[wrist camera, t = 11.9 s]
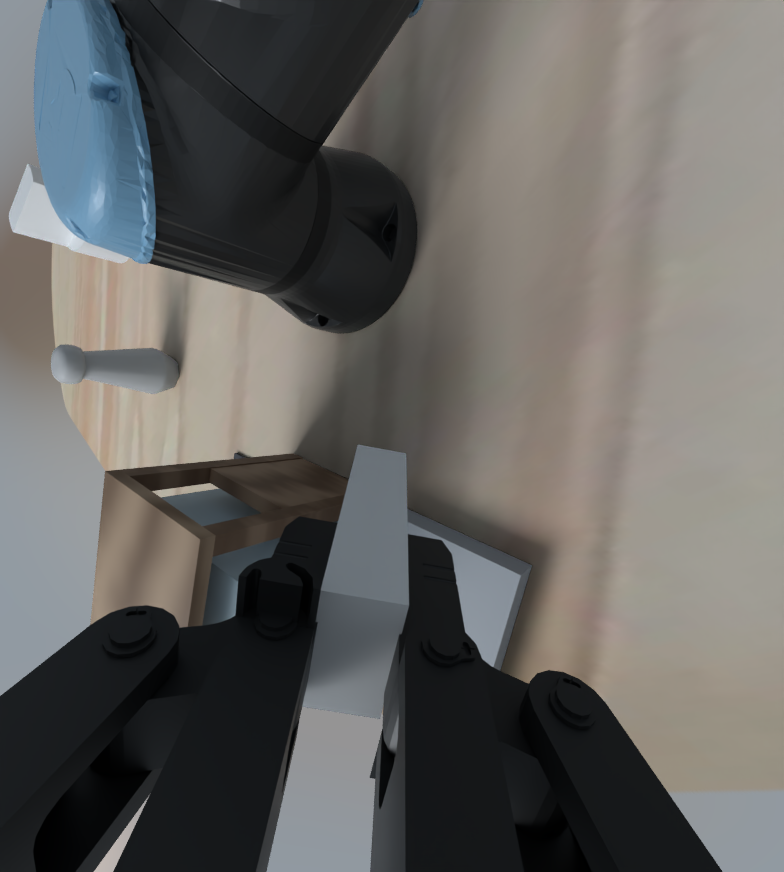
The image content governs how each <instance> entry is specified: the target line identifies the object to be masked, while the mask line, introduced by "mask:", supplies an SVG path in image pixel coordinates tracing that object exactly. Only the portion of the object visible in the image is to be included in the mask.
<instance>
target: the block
mask: <svg viewBox="0 0 784 872" xmlns="http://www.w3.org/2000/svg"><path fill="white" fill-rule="evenodd" d="M162 499H163V500H165V501H166V502H168V503H169V504H171V505H172V506H173V507H175V508H176V509H178V510H179V511H181V512H182V513H184V514H185V515H187V516H188V517H189V518H191V519H192V520H194V521H195V522H197V523H198V524H200V525H201V526H206V525H210V524H215V523H219V522H224V521H228V520H233V519H237V518H242V517H246V516H251V515H255V514H260V513H261V512H259V511H257V510H256V509H254V508H252V507H250V506H249V505H247V504H245V503H244V502H242V501H240V500H239V499H237V498H235V497H233V496H232V495H230V494H228V493H227V492H225V491H223V490H222V489H214V490H208V491H201V492H194V493H188V494H181V495H175V496H168V497H162ZM335 523H338V521H335ZM279 540H280V538H276V539H273V540H270V541H266V542H263V543H259V544H256V545H252V546H249V547H245V548H242V549H239V550H235V551H232V552H228V553H225V554H221V555H218V556H214V557H212V564H211V570H210V577H209V584H208V590H207V597H206V604H205V610H204V617H203V624H202V625H209V624H215V623H219V622H222V621H225V620H228V619H230V618H232V617H234V616H235V613H236V602H237V590H238V578H239V575H240V574H241V572H242V571H243V570H244V569H245V568H246V567H247V566H248V565H250V564H252V563H254V562H256V561H258V560H261V559H266V558H271V557H272V555H273V554H274V551H275V548H276V546H277V544H278V543H279Z"/></svg>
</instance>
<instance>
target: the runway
mask: <svg viewBox="0 0 784 872" xmlns="http://www.w3.org/2000/svg"><path fill="white" fill-rule="evenodd" d="M407 521H408V534H410V535H416V536H422V537H427V538H433V539H439V540H442V541H443V543H444V544H445V545H446V547H447V548H448V549H449V551H450V552H451V553H452V557H453V563H454V572H455V575H456V581H457V582H456V584H457V586H458V592H459V598H460V604H461V610H462V616H463V621H464V627H465V633H467V634H468V636H469V637H470V638H471V639H472V640H473V641H474V642H475V643H476V645H477V647H478V650H479V652H480V654H481V657H482V659H483V660H484V661H485V662H487V663H488V664H489V665H491V666H492V667H494V668H496V669H498V670H499V671H500V670H501V667H502V663H503V660H504V657H505V653H506V650H507V647H508V643H509V640H510V637H511V633H512V630H513V627H514V624H515V620H516V617H517V614H518V610H519V607H520V604H521V600H522V597H523V594H524V590H525V587H526V584H527V580H528V577H529V574H530V571H531V567H532V565H530V564H528V563H526V562H524V561H521V560H519V559H517V558H515V557H513V556H510V555H508V554H506V553H504V552H502V551H499V550H497V549H495V548H493V547H491V546H488V545H486V544H484V543H482V542H480V541H477V540H475V539H473V538H471V537H469V536H466V535H464V534H462V533H460V532H458V531H455V530H453V529H451V528H449V527H447V526H444V525H442V524H440V523H438V522H436V521H433V520H431V519H429V518H427V517H425V516H422V515H420V514H418V513H416V512H414V511H411V510H409V509H407Z"/></svg>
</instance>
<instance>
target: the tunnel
mask: <svg viewBox="0 0 784 872" xmlns="http://www.w3.org/2000/svg"><path fill="white" fill-rule="evenodd" d="M348 481H349V479H347V478H344V477H342V476H340V475H338V474H336V473H333V472H331V471H329V470H327V469H324V468H322V467H320V466H318V465H316V464H313V463H311V462H309V461H307V460H304V459H302V457H300V456H298V455H296V454H283V455H273V456H262V457H251V458H240V459H230V460H219V461H208V462H198V463H187V464H176V465H166V466H155V467H144V468H134V469H123V470H112V471H105V479H104V489H103V499H102V510H101V521H100V531H99V541H98V551H97V562H96V572H95V583H94V593H93V604H92V615H91V624H93V623H94V622H95V621H97V620H99V619H101V618H102V617H104V616H106V615H107V614H109V613H111V612H114V611H117V610H120V609H123V608H126V607H131V606H144V605H149V606H154V607H159V608H163V609H165V610H166V611H168V612H169V613H171V614H172V615H174V616H175V618H176V620H177V622H178V624H179V628H180V627H191V626H202V624H203V617H204V610H205V604H206V597H207V590H208V584H209V577H210V570H211V564H212V557H214V556H218V555H221V554H225V553H228V552H232V551H235V550H239V549H242V548H245V547H249V546H252V545H256V544H259V543H263V542H266V541H270V540H273V539H276V538H280V537H281V535H282V533H283V531H284V529H285V526H287V525H288V524H289V523H291V522H292V521H293V520H295V519H296V518H298V517H299V516H301V517H306V518H312V519H318V520H323V521H329V522H335V521H338V520H339V516H340V512H341V508H342V504H343V501H344V497H345V493H346V489H347V485H348ZM206 483H211V484H213V485H215V486H216V487H218V488H220V489H222V490H223V491H225V492H227V493H228V494H230V495H232V496H233V497H235V498H237V499H239V500H240V501H242V502H244V503H245V504H247V505H249V506H250V507H252V508H254V509H256V510H257V511H259V512H261V513H260V514H255V515H251V516H246V517H242V518H237V519H233V520H228V521H224V522H219V523H215V524H210V525H206V526H201V525H200V524H198V523H197V522H195V521H194V520H192V519H191V518H189V517H188V516H187V515H185V514H184V513H182V512H181V511H179V510H178V509H176V508H175V507H173V506H172V505H171V504H169V503H168V502H166V501H165V500H163V499H162V498H160V497H159V496H158V495H156V494H155V493H153V492H152V491H155V490H162V489H170V488H177V487H184V486H191V485H199V484H206ZM91 624H90V625H91Z"/></svg>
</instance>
